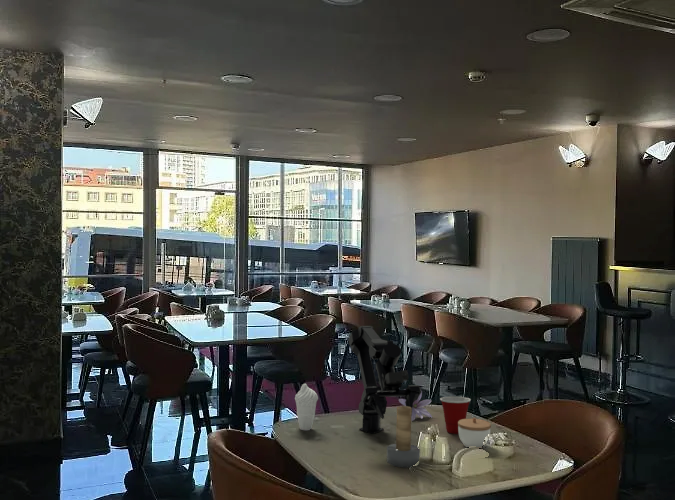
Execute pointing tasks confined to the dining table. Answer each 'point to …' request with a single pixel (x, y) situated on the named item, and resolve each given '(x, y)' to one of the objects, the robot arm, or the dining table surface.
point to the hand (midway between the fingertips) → (397, 417)
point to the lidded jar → (473, 431)
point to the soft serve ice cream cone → (306, 407)
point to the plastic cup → (454, 411)
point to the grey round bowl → (402, 456)
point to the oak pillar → (403, 428)
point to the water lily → (418, 407)
